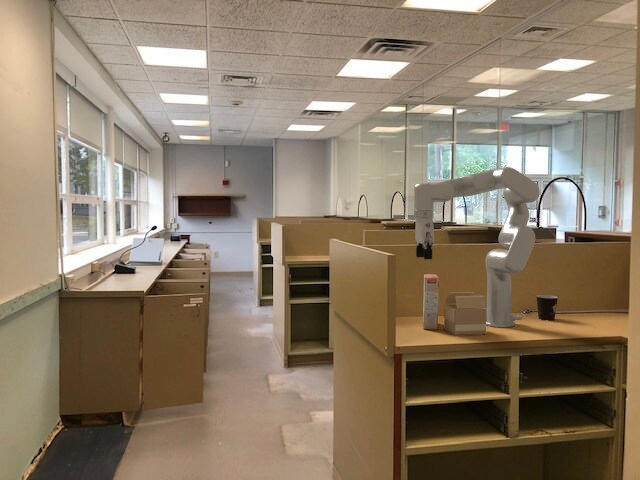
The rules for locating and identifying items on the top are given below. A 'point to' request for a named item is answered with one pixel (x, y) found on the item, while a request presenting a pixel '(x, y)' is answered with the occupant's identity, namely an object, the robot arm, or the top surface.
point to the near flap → (470, 302)
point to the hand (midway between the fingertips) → (424, 258)
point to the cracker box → (430, 301)
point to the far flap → (452, 295)
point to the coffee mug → (546, 307)
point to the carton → (465, 320)
